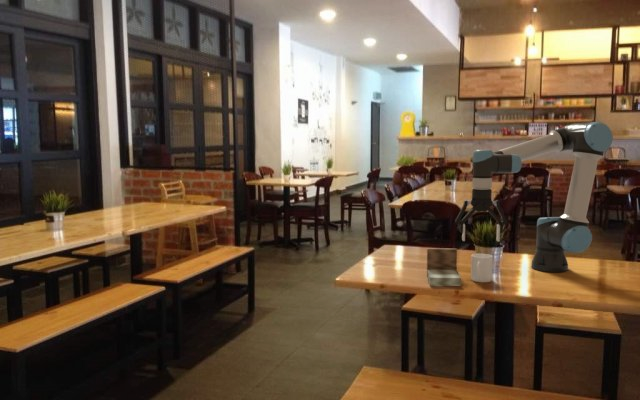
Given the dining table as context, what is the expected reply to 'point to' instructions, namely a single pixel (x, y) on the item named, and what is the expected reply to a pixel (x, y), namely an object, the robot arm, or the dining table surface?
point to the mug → (481, 267)
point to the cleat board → (442, 267)
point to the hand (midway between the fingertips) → (480, 240)
